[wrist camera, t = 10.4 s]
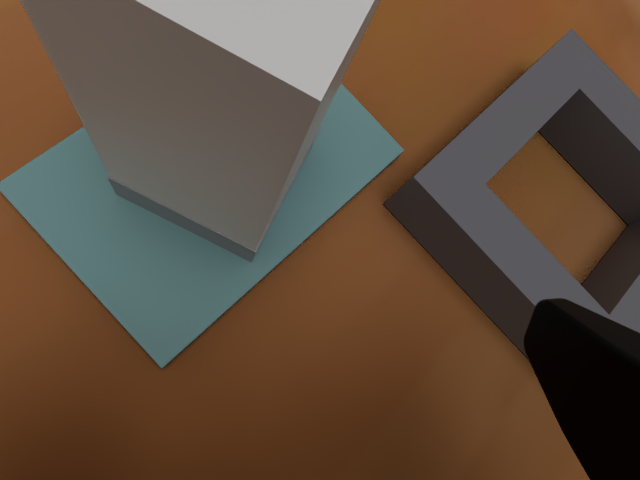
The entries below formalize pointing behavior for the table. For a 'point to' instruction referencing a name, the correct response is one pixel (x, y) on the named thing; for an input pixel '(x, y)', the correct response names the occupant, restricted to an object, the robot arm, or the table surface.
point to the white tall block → (203, 98)
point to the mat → (178, 243)
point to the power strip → (497, 219)
